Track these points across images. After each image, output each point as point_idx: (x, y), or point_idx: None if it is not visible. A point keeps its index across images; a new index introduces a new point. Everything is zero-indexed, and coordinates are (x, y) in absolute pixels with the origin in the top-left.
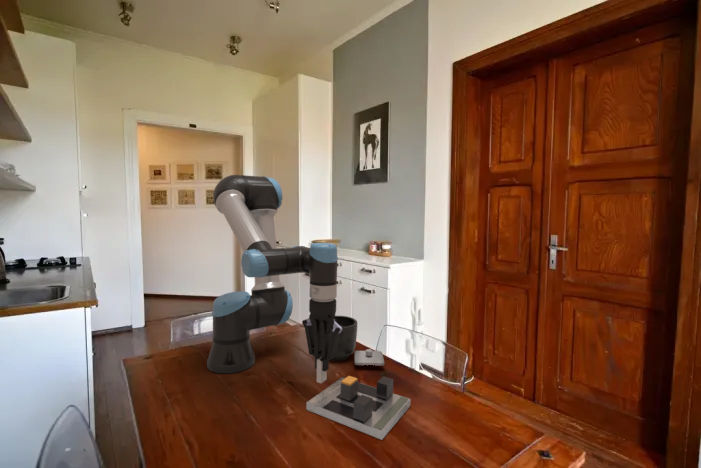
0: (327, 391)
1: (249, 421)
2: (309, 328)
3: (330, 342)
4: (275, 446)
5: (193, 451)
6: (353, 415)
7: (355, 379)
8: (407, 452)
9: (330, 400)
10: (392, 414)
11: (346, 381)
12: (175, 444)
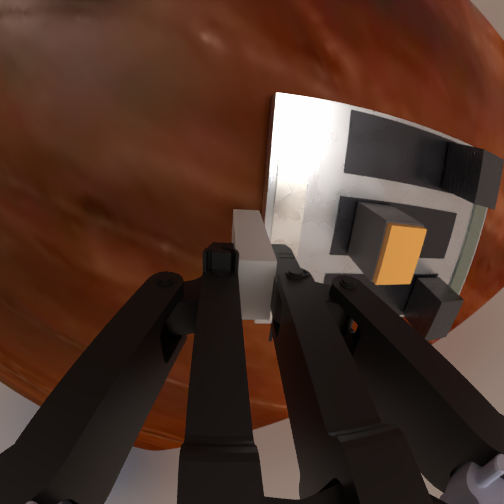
0: (285, 240)
1: (170, 386)
2: (94, 495)
3: (387, 423)
4: (270, 403)
5: (173, 438)
6: (406, 318)
7: (422, 242)
8: (471, 301)
9: (319, 278)
10: (472, 251)
11: (394, 275)
12: (141, 436)
